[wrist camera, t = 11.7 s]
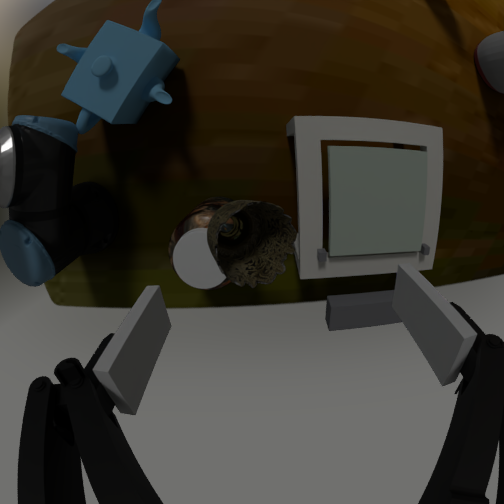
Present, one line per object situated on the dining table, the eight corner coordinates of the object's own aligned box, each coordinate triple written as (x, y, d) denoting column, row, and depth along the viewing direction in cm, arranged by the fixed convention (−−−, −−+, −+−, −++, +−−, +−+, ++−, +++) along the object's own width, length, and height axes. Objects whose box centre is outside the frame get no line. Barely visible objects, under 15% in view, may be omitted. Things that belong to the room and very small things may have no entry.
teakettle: (103, 137, 44) (61, 144, 31) (91, 55, 36) (49, 42, 22) (195, 108, 43) (176, 100, 30) (179, 22, 35) (158, -10, 22)
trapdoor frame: (292, 244, 51) (301, 284, 36) (286, 125, 43) (295, 114, 28) (397, 239, 49) (436, 273, 35) (400, 129, 41) (448, 127, 27)
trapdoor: (406, 307, 38) (415, 320, 35) (324, 316, 40) (329, 330, 36) (423, 151, 29) (437, 153, 26) (327, 145, 31) (334, 146, 27)
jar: (261, 243, 51) (259, 281, 37) (207, 266, 53) (187, 309, 39) (232, 185, 47) (218, 203, 33) (177, 214, 50) (145, 241, 36)
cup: (214, 177, 27) (246, 185, 20) (268, 209, 31) (310, 226, 24) (180, 242, 28) (200, 271, 21) (237, 266, 32) (270, 298, 25)
